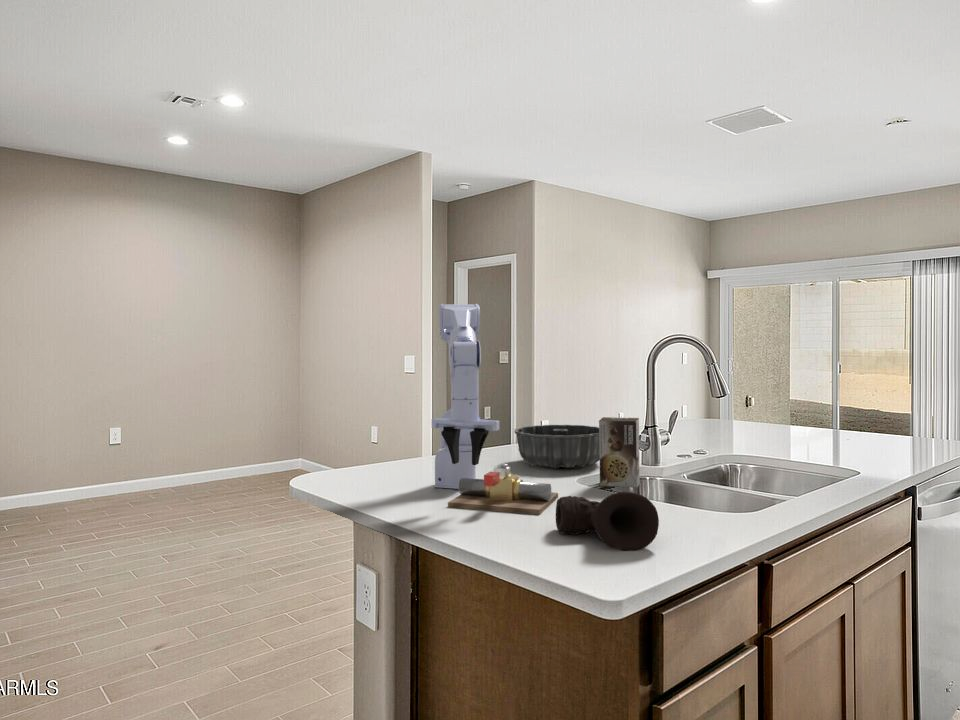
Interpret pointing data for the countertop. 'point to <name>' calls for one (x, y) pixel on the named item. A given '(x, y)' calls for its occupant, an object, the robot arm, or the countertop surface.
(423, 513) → the countertop surface
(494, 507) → the mount board
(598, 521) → the pipe
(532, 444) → the bundt pan
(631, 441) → the coffee box
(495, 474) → the valve lever
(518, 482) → the valve body
